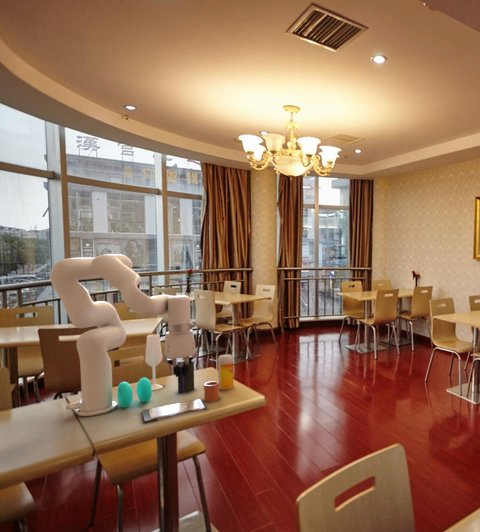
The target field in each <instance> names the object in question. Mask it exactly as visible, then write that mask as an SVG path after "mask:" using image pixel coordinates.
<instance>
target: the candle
mask: <svg viewBox="0 0 480 532" xmlns="http://www.w3.org/2000/svg"><path fill="white" fill-rule="evenodd" d="M189 357H190V356H189ZM181 360H183V361H184V357H183V358H181ZM192 391H195V361H193V360H192V361H191V362H190V363H189V364H188V372H187V373H186V375H184V393H183V394H189V393H191V392H192Z"/></svg>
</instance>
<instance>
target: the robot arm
mask: <svg viewBox="0 0 480 532" xmlns="http://www.w3.org/2000/svg"><path fill="white" fill-rule="evenodd" d="M49 273H50V274H49V279H50V283H51V285H52V287H53V289H54V290H55V292H56V293H57V295H58V297H59V298H60V301H61V303H62V305H63V308H64V310H65V312H66V314H67V316H68V318H69V321H70V323H71V324H72V325H73V327H75V328H77V329H87V328H93V327H96V328H93V329H89V330H87V331H84V332H83V333H81V335H79V336H78V338H77V340H76V350H77V353H78V358H79V365H80V394H81V395H80V396H81V398H80V400H79V401H77V402H74V403H73V402H72V403H67V404H66V405H65V407H66V408H65V409H66V410H69V411H74V410H76V415H77V416H80V417H92V416H98V415H103V414H105V413H108V412H111V411H114V410H115V409H116V408H117V407H118V402H117V401H114V400H113V367H112V366H113V364H112V360H111V357H110V355H109V353H108V351H111V350H114V349H117V348H119V347H121V346H123V345H124V343H125V342H126V339H127V333H126V330H125V329H126V328H125V327H124V325H123V323H122V320H121V318H120V316H119V314H118V312H117V309H116V308H115V306H114V305H112V304H111V303H110V302H108V301H104V300H97V301H94V300H93V299H92V297H91V294H90V293H89V290H87V288H86V287H85V286H84V285H83V284H82V283H80V282H79V281H80V280H94V279H103V280H104V281H106V282H107V283H108V284H110V286H112V287H114V288H115V289H116V290H118V291H119V292H120V296H121V298H122V301H123V302H124V304H125V305H126V306H127V307H128V308H129V309H131V310H132V311H134V312H135V313H136V314H138V315H139V316H142V317H144V318H154V317H158V316H163V315H167V326H168V327H167V328H168V331H166V332H165V337H164V353H163V354H162V361H161V362H163V363H166V364H169V365H171V366H172V374H173V375H174V376H175V378H178V366H177V361H178V360H177V359H182V358H183V357H184V375H186V373H187V372H188V364H189V363H190V362H191V361H192V362H193V360H195V359H196V358H198V357H199V354H198V352H197V350H196V341H195V334H194V330H193V328H196V324H195V323H192V321H191V320H192V319H191V315H192V314H191V298H190V297H189V296H188V295H170V294H159V295H154V296H149V295H147V294H146V293H145V292H143V291H142V290H140V288H138V285H139V284H140V282H141V276H140V274H138V273H137V272H136V271H134V270H133V262H132V260H131V259H130V258H129V257H128V256H126V255H124V254H119V253H114V254H109V253H108V254H100V255H98V256H96V257H68V258H64V259H63V258H62V259H60V260H59V261H56V262H55V263H54V264H53V266H52V268H51V270H50V272H49ZM189 356H190V357H189Z"/></svg>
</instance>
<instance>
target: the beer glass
mask: <svg viewBox="0 0 480 532" xmlns="http://www.w3.org/2000/svg"><path fill="white" fill-rule="evenodd" d="M217 368H218V369H217V371H218V373H217V374H218V377H217V378H218V380H217V382H219V390H222V391H225V390H226V391H227V390H230V389H233V387H234V357H233V355H232V354H231V353H230V354H229V353H225V354H221V355H219V356H218V359H217Z"/></svg>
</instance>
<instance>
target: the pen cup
mask: <svg viewBox="0 0 480 532" xmlns="http://www.w3.org/2000/svg"><path fill="white" fill-rule="evenodd" d="M219 398H220V389H219V382H218V380H217V381H216V380H215V381H214V380H213V381H207V382H205V383H204V384H203V400H204V402H214V401H217V400H219Z"/></svg>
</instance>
